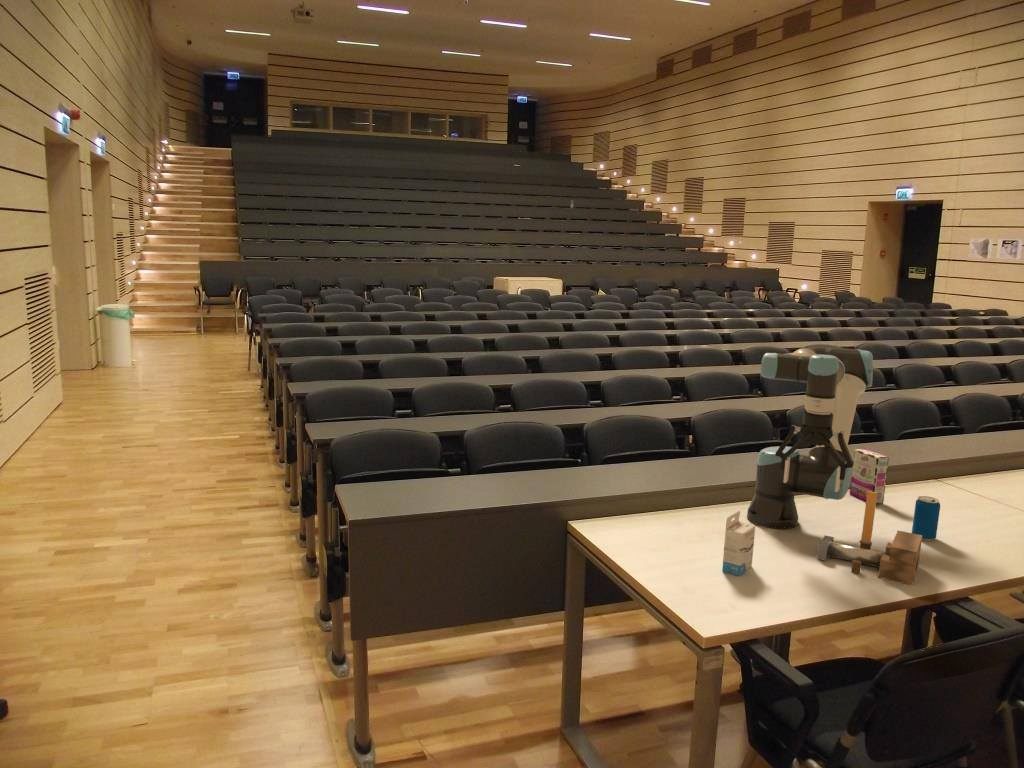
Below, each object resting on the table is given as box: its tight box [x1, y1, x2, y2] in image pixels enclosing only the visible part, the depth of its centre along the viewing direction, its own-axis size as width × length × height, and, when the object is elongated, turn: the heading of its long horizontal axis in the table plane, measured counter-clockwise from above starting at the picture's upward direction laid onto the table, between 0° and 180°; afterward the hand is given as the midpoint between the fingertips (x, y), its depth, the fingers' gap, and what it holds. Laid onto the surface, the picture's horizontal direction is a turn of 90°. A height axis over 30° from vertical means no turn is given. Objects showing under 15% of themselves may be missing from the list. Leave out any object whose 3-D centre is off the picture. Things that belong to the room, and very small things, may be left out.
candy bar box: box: [849, 448, 890, 505], centre depth 264 cm, size 11×5×16 cm, turn 17°
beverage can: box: [911, 495, 941, 542], centre depth 230 cm, size 6×6×12 cm
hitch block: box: [850, 530, 923, 586], centre depth 208 cm, size 15×16×9 cm
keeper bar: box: [859, 491, 877, 547], centre depth 216 cm, size 3×15×1 cm
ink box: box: [721, 510, 756, 577], centre depth 204 cm, size 9×5×15 cm, turn 141°
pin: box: [816, 535, 890, 568], centre depth 212 cm, size 18×9×4 cm, turn 57°
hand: (811, 486), depth 216 cm, fingers open, 13 cm apart
